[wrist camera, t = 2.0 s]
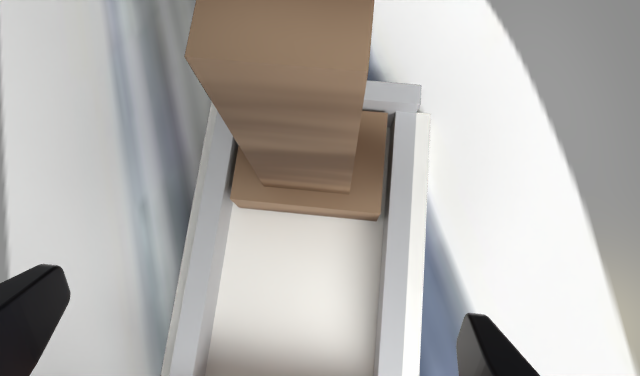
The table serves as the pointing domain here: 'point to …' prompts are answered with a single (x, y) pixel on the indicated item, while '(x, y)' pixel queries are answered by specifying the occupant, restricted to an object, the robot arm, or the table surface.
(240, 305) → the tray
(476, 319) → the robot arm
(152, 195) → the table surface
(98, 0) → the table surface
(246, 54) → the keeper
